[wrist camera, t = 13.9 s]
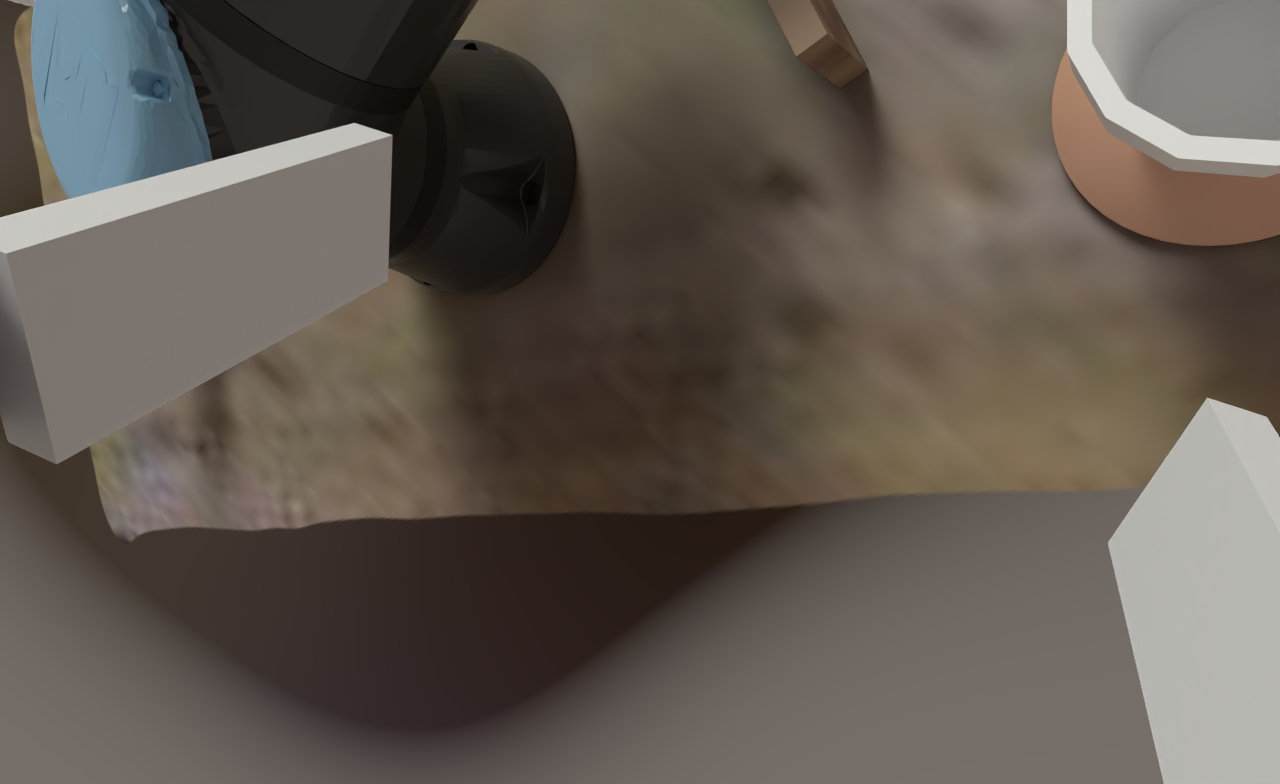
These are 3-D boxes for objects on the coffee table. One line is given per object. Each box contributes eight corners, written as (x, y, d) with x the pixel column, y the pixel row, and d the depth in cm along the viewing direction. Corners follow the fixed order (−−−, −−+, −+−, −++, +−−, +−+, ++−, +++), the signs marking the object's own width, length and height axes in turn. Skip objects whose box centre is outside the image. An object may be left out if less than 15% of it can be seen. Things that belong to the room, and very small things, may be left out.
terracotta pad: (1001, 55, 35) (999, 52, 35) (1328, -154, 29) (1332, -163, 28) (1137, 300, 33) (1137, 300, 33) (1515, 131, 27) (1522, 128, 27)
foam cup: (1089, -13, 33) (1067, -172, 22) (1395, -81, 28) (1569, -330, 17) (1088, 224, 33) (1066, 188, 22) (1385, 198, 29) (1544, 136, 18)
